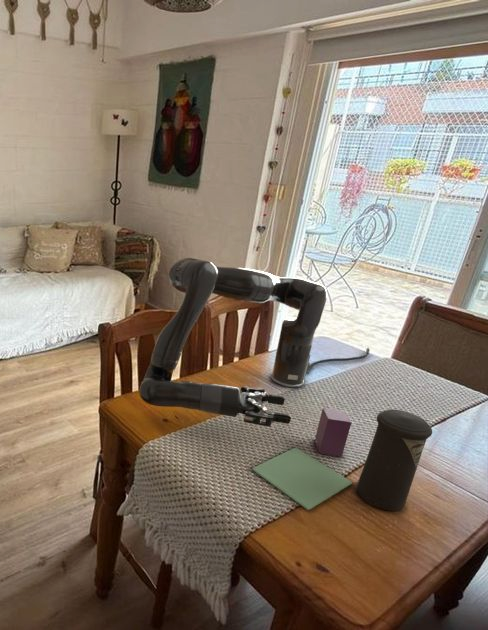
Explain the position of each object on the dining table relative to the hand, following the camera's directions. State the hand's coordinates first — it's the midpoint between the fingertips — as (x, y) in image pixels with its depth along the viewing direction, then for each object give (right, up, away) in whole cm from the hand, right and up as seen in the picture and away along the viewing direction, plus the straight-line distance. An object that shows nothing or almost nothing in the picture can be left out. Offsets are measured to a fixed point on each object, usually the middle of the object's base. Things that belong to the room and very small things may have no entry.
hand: (287, 409), depth 108 cm
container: (+13, -16, -14) cm, 25 cm away
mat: (-1, -13, -9) cm, 16 cm away
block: (+10, -10, +1) cm, 14 cm away
